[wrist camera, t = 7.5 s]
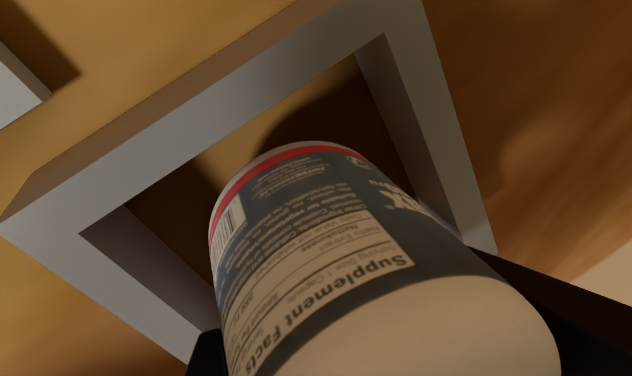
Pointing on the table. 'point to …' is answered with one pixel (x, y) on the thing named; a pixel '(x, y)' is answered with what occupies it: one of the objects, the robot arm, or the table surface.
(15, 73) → the rubber mat
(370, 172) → the pill bottle
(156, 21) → the table surface
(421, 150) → the grey square frame
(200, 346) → the robot arm
